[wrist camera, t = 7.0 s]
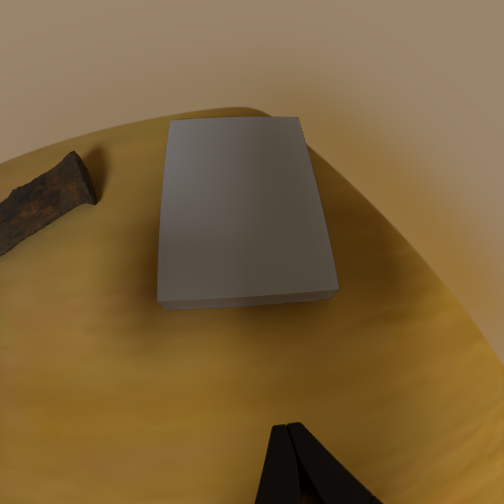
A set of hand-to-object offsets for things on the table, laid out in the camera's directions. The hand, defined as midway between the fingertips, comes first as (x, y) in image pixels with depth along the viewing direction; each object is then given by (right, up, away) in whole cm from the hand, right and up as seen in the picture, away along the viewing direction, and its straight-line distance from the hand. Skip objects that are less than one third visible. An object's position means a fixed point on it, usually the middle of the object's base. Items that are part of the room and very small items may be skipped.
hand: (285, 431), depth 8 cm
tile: (-1, +3, +9) cm, 10 cm away
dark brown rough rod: (-20, +5, +11) cm, 24 cm away
